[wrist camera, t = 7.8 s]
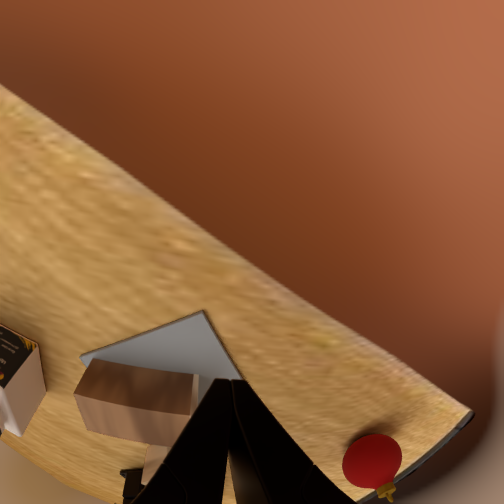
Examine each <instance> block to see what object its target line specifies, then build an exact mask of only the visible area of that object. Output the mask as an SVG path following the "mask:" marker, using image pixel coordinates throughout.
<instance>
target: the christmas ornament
mask: <svg viewBox="0 0 504 504" xmlns="http://www.w3.org/2000/svg"><path fill="white" fill-rule="evenodd" d="M401 461H402V452H401V449H400V446H399V445H398V443H397V442H396V441H395V440H394V439H393V438H391V437H389V436H387V435H383V434H371V435H367V436H364V437H362V438H360V439H358V440H357V441H355V442H354V443H353V444H352V445H351V446H350V447H349V448H348V450H347V451H346V453H345V455H344V458H343V463H342V469H343V473H344V475H345V477H346V479H347V480H348V481H349V482H350V483H351V484H353V485H355V486H357V487H361V488H372V489H375V490H376V491H377V494H378V497H379V498H382V497H385V496H387V498H388V500H389V501H390V502H393V497H392V495H391V493H393V492H394V491H395V490H396V488H395V486H394V484H393V479H394V476H395V475H396V473H397V471H398V470H399V468H400V465H401Z"/></svg>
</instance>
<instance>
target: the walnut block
mask: <svg viewBox="0 0 504 504" xmlns="http://www.w3.org/2000/svg"><path fill="white" fill-rule="evenodd" d="M198 383H199V374H189V373H180V372H171V371H164V370H156V369H150V368H143V367H137V366H131V365H125V364H120V363H115V362H110V361H105V360H100V359H95V358H92V360H91V362H90V364H89V365H88V367H87V369H86V371H85V373H84V374H83V376H82V378H81V380H80V382H79V384H78V386H77V387H76V389H75V391H74V393H73V394H74V397H75V400H76V402H77V405H78V408H79V411H80V413H81V416H82V418H83V421H84V423H85V426H86V428H87V430H89V431H93V432H96V433H100V434H104V435H108V436H112V437H117V438H121V439H126V440H131V441H136V442H141V443H147V444H153V445H159V446H166V447H172V446H173V444H174V443H175V441H176V440H177V438H178V437H179V435H180V433H181V432H182V430H183V429H184V427H185V425H186V424H187V422H188V421H189V419H190V417H191V416H192V414H193V412H194V411H195V409H196V408H197V406H198Z"/></svg>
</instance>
